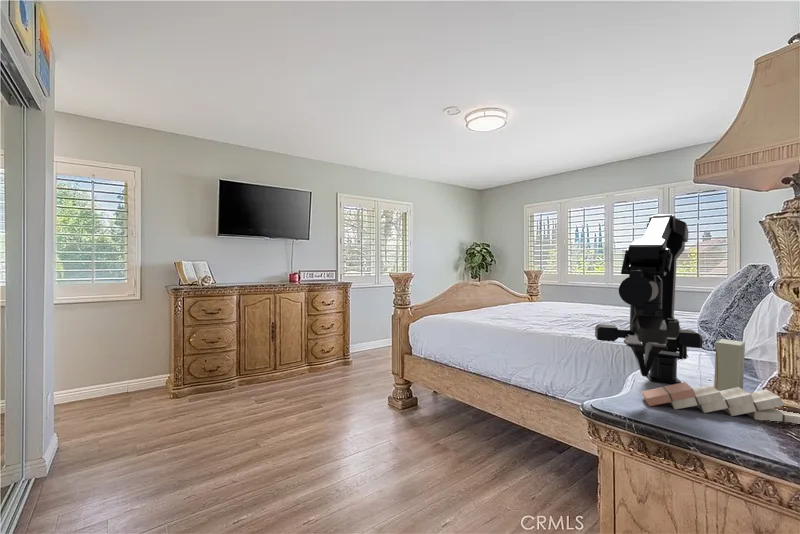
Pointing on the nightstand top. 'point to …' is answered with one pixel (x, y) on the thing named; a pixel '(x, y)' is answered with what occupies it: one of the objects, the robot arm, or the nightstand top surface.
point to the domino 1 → (668, 394)
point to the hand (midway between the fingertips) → (644, 376)
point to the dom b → (699, 397)
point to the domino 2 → (728, 400)
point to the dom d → (757, 403)
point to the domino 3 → (776, 415)
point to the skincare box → (729, 364)
